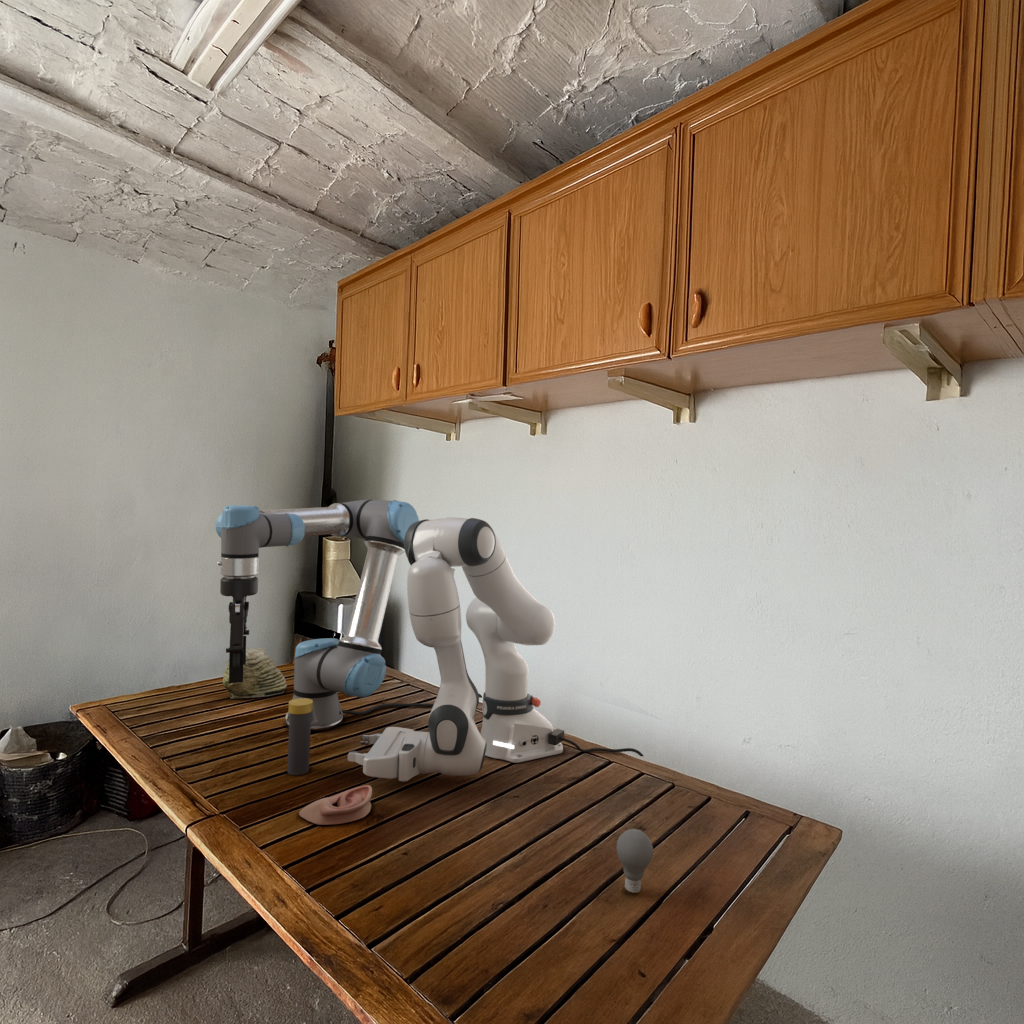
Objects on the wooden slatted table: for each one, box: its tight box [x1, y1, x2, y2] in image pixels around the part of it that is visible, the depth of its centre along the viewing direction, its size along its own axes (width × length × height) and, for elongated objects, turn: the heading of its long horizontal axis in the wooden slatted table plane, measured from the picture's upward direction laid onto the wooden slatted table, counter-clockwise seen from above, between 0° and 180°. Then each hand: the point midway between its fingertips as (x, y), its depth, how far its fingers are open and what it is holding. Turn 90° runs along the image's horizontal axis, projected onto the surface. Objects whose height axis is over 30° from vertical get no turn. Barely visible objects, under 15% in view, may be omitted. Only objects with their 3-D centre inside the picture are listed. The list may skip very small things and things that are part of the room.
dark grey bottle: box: [286, 712, 311, 776], centre depth 146 cm, size 5×5×16 cm
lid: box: [287, 698, 313, 714], centre depth 145 cm, size 5×5×2 cm
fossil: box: [222, 646, 288, 699], centre depth 198 cm, size 9×18×15 cm, turn 132°
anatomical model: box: [298, 784, 373, 826], centre depth 127 cm, size 13×4×12 cm
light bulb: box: [615, 828, 654, 894], centre depth 106 cm, size 6×6×10 cm
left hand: (237, 673), depth 138 cm, fingers open, 13 cm apart
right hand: (355, 747), depth 145 cm, fingers open, 8 cm apart
